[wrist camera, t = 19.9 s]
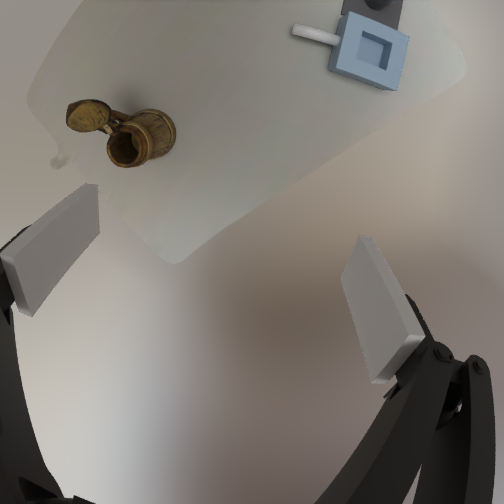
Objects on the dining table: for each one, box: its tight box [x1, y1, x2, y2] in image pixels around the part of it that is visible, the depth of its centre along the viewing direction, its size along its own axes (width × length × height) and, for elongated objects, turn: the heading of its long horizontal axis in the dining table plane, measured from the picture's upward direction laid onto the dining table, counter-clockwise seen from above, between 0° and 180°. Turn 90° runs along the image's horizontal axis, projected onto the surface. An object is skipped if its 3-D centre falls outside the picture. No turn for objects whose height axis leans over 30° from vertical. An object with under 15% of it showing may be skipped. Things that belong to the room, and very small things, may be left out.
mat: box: [341, 0, 403, 30], centre depth 31 cm, size 10×10×1 cm
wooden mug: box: [66, 99, 176, 168], centre depth 37 cm, size 9×14×18 cm, turn 27°
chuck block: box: [292, 11, 409, 91], centre depth 34 cm, size 10×17×6 cm, turn 78°
